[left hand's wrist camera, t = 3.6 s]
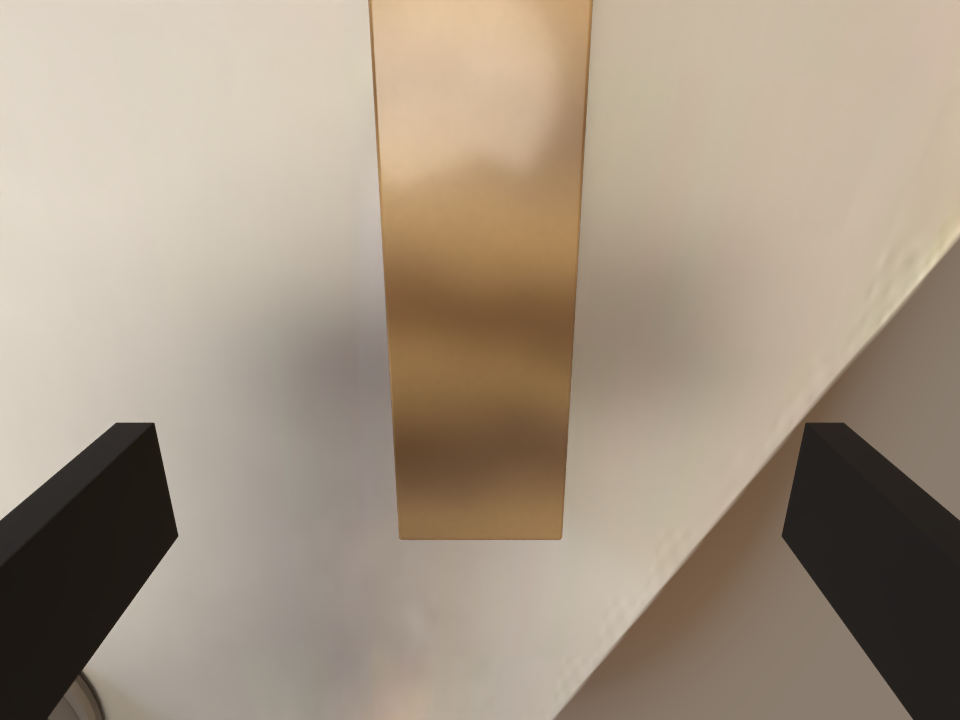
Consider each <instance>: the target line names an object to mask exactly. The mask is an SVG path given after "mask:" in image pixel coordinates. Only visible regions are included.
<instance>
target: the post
mask: <svg viewBox="0 0 960 720" xmlns="http://www.w3.org/2000/svg"><path fill="white" fill-rule="evenodd" d="M368 2H369V20H370V37H371V55H372V72H373V90H374V107H375V125H376V142H377V160H378V177H379V195H380V212H381V230H382V247H383V265H384V282H385V300H386V317H387V335H388V353H389V370H390V388H391V405H392V423H393V440H394V458H395V475H396V493H397V510H398V528H399V538H400V539H401V540H560V539H561V538H562V528H563V511H564V494H565V476H566V459H567V442H568V424H569V407H570V390H571V372H572V355H573V337H574V320H575V303H576V285H577V268H578V251H579V233H580V216H581V199H582V181H583V164H584V147H585V129H586V112H587V94H588V77H589V60H590V42H591V25H592V8H593V0H368Z"/></svg>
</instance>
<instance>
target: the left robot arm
mask: <svg viewBox="0 0 960 720" xmlns="http://www.w3.org/2000/svg"><path fill="white" fill-rule="evenodd" d="M177 537H178V532H177V527H176V523H175V518H174V513H173V509H172V504H171V499H170V494H169V490H168V485H167V480H166V476H165V471H164V466H163V461H162V457H161V452H160V447H159V443H158V438H157V433H156V428H155V424H154V423H115V424H114V425H113V426H112V427H111V428H109V429H108V430H107V431H106V432H105V433H104V434H102V435H101V436H100V437H99V438H98V439H96V440H95V441H94V442H93V443H92V444H91V445H89V446H88V447H87V448H86V449H85V450H83V451H82V452H81V453H80V454H79V455H77V456H76V457H75V458H74V459H73V460H72V461H70V462H69V463H68V464H67V465H66V466H64V467H63V468H62V469H61V470H60V471H59V472H57V473H56V474H55V475H54V476H53V477H51V478H50V479H49V480H48V481H47V482H45V483H44V484H43V485H42V486H41V487H40V488H38V489H37V490H36V491H35V492H34V493H32V494H31V495H30V496H29V497H28V498H27V499H25V500H24V501H23V502H22V503H21V504H19V505H18V506H17V507H16V508H15V509H13V510H12V511H11V512H10V513H9V514H8V515H6V516H5V517H4V518H3V519H2V520H0V720H102V716H101V712H100V710H99V707H98V704H97V702H96V700H95V698H94V695H93V694H92V692H91V691H90V689H89V687H88V686H87V684H86V683H85V682H84V680H83V679H82V678H81V676H80V675H79V674H80V672H81V671H82V670H83V668H84V667H85V666H86V664H87V663H88V661H89V660H90V659H91V657H92V656H93V654H94V653H95V652H96V650H97V649H98V647H99V646H100V645H101V643H102V642H103V640H104V639H105V638H106V636H107V635H108V633H109V632H110V631H111V629H112V628H113V627H114V625H115V624H116V622H117V621H118V620H119V618H120V617H121V615H122V614H123V613H124V611H125V610H126V608H127V607H128V606H129V604H130V603H131V601H132V600H133V599H134V597H135V596H136V594H137V593H138V592H139V590H140V589H141V587H142V586H143V585H144V583H145V582H146V581H147V579H148V578H149V576H150V575H151V574H152V572H153V571H154V569H155V568H156V567H157V565H158V564H159V562H160V561H161V560H162V558H163V557H164V555H165V554H166V553H167V551H168V550H169V548H170V547H171V546H172V544H173V543H174V542H175V540H176V539H177ZM782 537H783V539H784V540H785V541H786V543H787V544H788V546H789V547H790V548H791V550H792V551H793V553H794V554H795V555H796V557H797V558H798V560H799V561H800V562H801V564H802V565H803V567H804V568H805V569H806V571H807V572H808V574H809V575H810V576H811V578H812V579H813V580H814V582H815V583H816V585H817V586H818V587H819V589H820V590H821V592H822V593H823V594H824V596H825V597H826V598H827V600H828V601H829V603H830V604H831V606H832V607H833V608H834V610H835V611H836V613H837V614H838V615H839V617H840V618H841V620H842V621H843V622H844V624H845V625H846V627H847V628H848V629H849V631H850V632H851V633H852V635H853V636H854V638H855V639H856V640H857V642H858V643H859V645H860V646H861V647H862V649H863V650H864V652H865V653H866V654H867V656H868V657H869V659H870V660H871V661H872V663H873V664H874V665H875V667H876V668H877V670H878V671H879V672H880V674H881V675H882V677H883V678H884V679H885V681H886V682H887V684H888V685H889V686H890V688H891V689H892V691H893V692H894V693H895V695H896V696H897V698H898V699H899V700H900V702H901V703H902V704H903V706H904V707H905V709H906V710H907V712H908V713H909V714H910V716H911V717H912V718H913V720H960V520H958V519H957V518H956V517H955V516H954V515H952V514H951V513H950V512H949V511H948V510H946V509H945V508H944V507H943V506H942V505H941V504H939V503H938V502H937V501H936V500H935V499H933V498H932V497H931V496H930V495H929V494H928V493H926V492H925V491H924V490H923V489H922V488H920V487H919V486H918V485H917V484H916V483H915V482H913V481H912V480H911V479H910V478H909V477H907V476H906V475H905V474H904V473H903V472H901V471H900V470H899V469H898V468H897V467H896V466H894V465H893V464H892V463H891V462H890V461H888V460H887V459H886V458H885V457H884V456H883V455H881V454H880V453H879V452H878V451H877V450H875V449H874V448H873V447H872V446H871V445H869V444H868V443H867V442H866V441H865V440H863V439H862V438H861V437H860V436H859V435H858V434H856V433H855V432H854V431H853V430H852V429H850V428H849V427H848V426H847V425H846V424H845V423H806V424H805V429H804V433H803V438H802V443H801V447H800V452H799V457H798V461H797V466H796V471H795V476H794V481H793V485H792V490H791V494H790V499H789V504H788V509H787V513H786V518H785V523H784V528H783V532H782Z"/></svg>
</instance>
